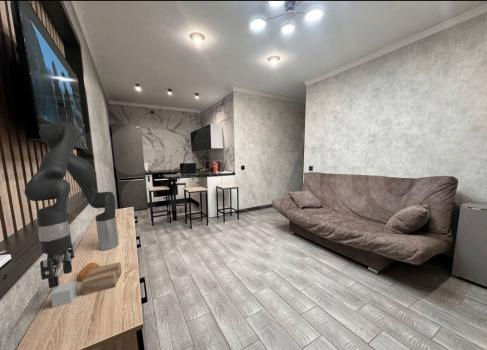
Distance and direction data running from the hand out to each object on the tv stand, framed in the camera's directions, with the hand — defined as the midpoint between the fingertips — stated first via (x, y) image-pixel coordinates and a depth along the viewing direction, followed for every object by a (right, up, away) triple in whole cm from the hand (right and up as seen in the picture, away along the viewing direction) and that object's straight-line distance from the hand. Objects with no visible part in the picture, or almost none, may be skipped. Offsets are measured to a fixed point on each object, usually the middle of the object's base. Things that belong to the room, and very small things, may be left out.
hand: (61, 279), depth 64 cm
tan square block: (+8, -7, +9) cm, 14 cm away
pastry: (-4, -8, +16) cm, 18 cm away
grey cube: (+1, -8, +1) cm, 8 cm away
